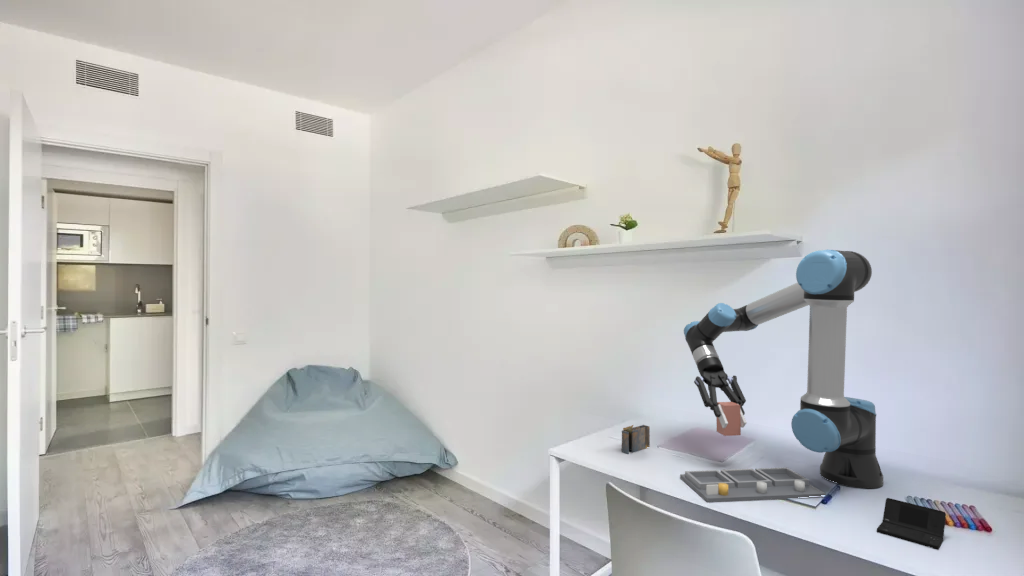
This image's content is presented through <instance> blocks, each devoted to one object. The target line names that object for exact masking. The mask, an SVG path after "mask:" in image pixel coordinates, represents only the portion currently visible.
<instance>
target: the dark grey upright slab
mask: <svg viewBox="0 0 1024 576" xmlns="http://www.w3.org/2000/svg"><path fill="white" fill-rule="evenodd" d="M650 432H651V431H650V425H645V424H640V425H637V426H634V424H632V425H629V426H626V427H623V428H622V430H621V453H623V454H626V455H629V454H630V451H631V453H632V454H633V453H636V452H639V451H643V450H646V449H648V448H647V447H650V448H651V444H650V440H651V438H650V436H651V435H650Z"/></svg>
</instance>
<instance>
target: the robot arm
mask: <svg viewBox="0 0 1024 576" xmlns="http://www.w3.org/2000/svg"><path fill="white" fill-rule="evenodd" d="M872 272H873V270H872V265H871V263H870V261H869V260H868V259H867V257H865V256H864V255H862V254H860V253H859V252H856V251H851V250H838V249H837V250H836V249H821V250H820V249H819V250H815V251H812V252H810V253H807V254H806V255H805V256H804V257H803V258H802V259H801V260H800V261H799V263H798V266H797V267H796V273H795V279H796V283H793V284H791V285H789V286H786V287H784V288H782V289H780V290H777V291H775V292H773V293H770V294H768V295H766V296H764V297H761V298H759V299H757V300H755V301H752V302H750V303H748V304H746V305H743V306H741V307H739V308H733V307H732V306H730V305H729V304H727V303H724V302H718V303H717V304H715V305H714V306H713V307H712V308H710V310H708V312H707V313H706V315H704V317H703V318H702V319H701V320H699V321H698V320H697V321H696V320H694V321H692V322H690V323H688V324H686V325H685V326H684V328H683V334H684V338H685V341H686V343H687V345H688V348H689V350H690V352H691V356H692V358H693V360H694V362H695V365H696V368H697V370H698V372H699V375H700V376H696V377H695V379H694V381H693V383H694V384H695V386H696V387H697V389H698V392H699V394H700V397H701V400H702V403H703V405H704V408H709V409H710V410H711V411H713V414H714V416H715V418H716V417H718V418H719V420H720V423H721V425H722V428H726V426H727V425H728V422H727V419H726V417H725V414H724V412H723V410H722V407H721V405H720V404H718V405H717V402H718V398H717V388H718V389H720V391H721V392H723V393H724V394H725V396H726V397H727V399H729V402H734V403H736V404H739V405H740V421H741V428H745V427H746V425H747V419H746V417H745V414H746V413H745V410H744V408H743V406H745V403H746V402H747V400H746V397H745V395H744V394H743V391H742V389H741V387H740V385H739V383H738V378H737V376H736V375H732V376H730V375H728V374H727V373H726V372H725V369H724V366H723V364H722V361H721V359H720V357H719V354H718V352H717V350H716V348H715V345H714V343H713V342H714V341H715V340H717V338H719V336H721V334H723V333H728V332H729V333H731V332H748V331H752V330H754V329H756V328H757V327H758V326H759V325H761V324H765V323H767V322H769V321H771V320H774V319H777V318H779V317H781V316H784V315H787V314H789V313H792V312H794V311H797V310H800V309H802V308H804V307H807V306H809V319H808V321H809V322H808V323H809V326H808V353H807V356H808V357H807V358H808V359H807V384H806V386H807V387H806V392H805V393H804V394H803V395H802V396H800V404H799V407H800V408H799V410H798V411H797V412H796V413H794V415H793V416H792V418H791V431H792V433H793V435H794V437H795V439H796V440H797V441H798V442H799V443H800V445H801V446H803V447H804V448H805V449H807V450H809V451H811V452H815V453H818V454H819V453H822V454H823V453H824V456H823V459H822V462H821V463H820V466H819V474H821V475H820V476H821V477H822V476H823V477H824V479H825V478H826V480H827V479H828V480H827V481H829V480H831V481H834V482H837V483H838V485H840V486H841V485H842V486H846V487H851V488H858V489H878V488H882V487H883V485H884V475H883V472H882V469H881V466H880V462H879V461H878V457H877V455H876V454H877V453H876V452H877V451H876V450H877V448H876V444H877V443H876V442H877V441H876V439H877V438H876V437H877V436H876V435H877V433H876V431H877V430H876V429H877V426H876V425H877V423H876V422H877V420H876V419H877V413H876V406H875V405H876V404H875V403H873V402H872V401H870V400H866V399H860V398H854V397H848V396H845V376H846V375H845V373H846V347H847V346H846V345H847V321H848V320H847V318H848V315H847V314H848V311H847V310H848V307H849V306H850V305H851V304H853V303H854V302H855V293H856V292H858V291H860V290H862V289H864V288H865V287H866V286H867V285H868V284H869V282H870V280H871V279H872V274H873V273H872ZM705 384H706V385H707V388H706V385H705ZM823 477H822V478H823ZM831 481H830V482H831ZM834 482H833V483H834ZM837 483H836V484H837Z"/></svg>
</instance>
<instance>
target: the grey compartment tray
mask: <svg viewBox="0 0 1024 576" xmlns="http://www.w3.org/2000/svg"><path fill="white" fill-rule="evenodd" d="M679 477H680V480H682V481H683V482H684V483H685V484H686V485H688V486H689V488H690V489H692V490H693V491H694V492H695V493H696V494H698V496H699V497H701V498H702V499H703V500H704V501H706V503H724V502H725V503H726V502H747V501H748V502H750V501H752V502H753V501H768V500H769V501H772V500H773V501H774V500H788V499H787V498H798V497H809V496H821V495H826V496H827V493H826V492H824V491H822V490H821V489H819V488H817V487H816V486H814V485H812V484H811V483H810V479H808V478H806V477H804V476H803V475H802V474H800V473H797V472H796V471H794V470H792V469H791V468H789V467H765V468H755V469H753V468H742V469H741V468H739V469H737V468H735V469H720V470H718V469H710V470H709V469H708V470H689V471H688V470H686V471H684V473H682V474H680V475H679Z"/></svg>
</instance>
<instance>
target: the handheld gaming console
mask: <svg viewBox="0 0 1024 576" xmlns="http://www.w3.org/2000/svg"><path fill="white" fill-rule="evenodd" d="M883 509H884V510H883V516H882V521H881V523H880V524H879V525H878V527H877V528H876V532H877V533H879V534H882V535H885V536H889V537H891V538H896V539H899V540H902V541H906V542H910V543H913V544H916V545H920V546H923V547H926V548H931V549H933V550H937V551H938V550H939V549H940V547H941V545H942V544H943V542H944V537H945V536H944V535H945V529H946V527H945V526H946V519H947V518H946V515H947V514H946V512H945V511H944V510H943V511H942V510H940V509H935V508H931V507H926V506H923V505H918V504H914V503H911V502H906V501H902V500H898V499H895V498H890V497H887V498H886V499H885V503H884V508H883Z"/></svg>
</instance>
